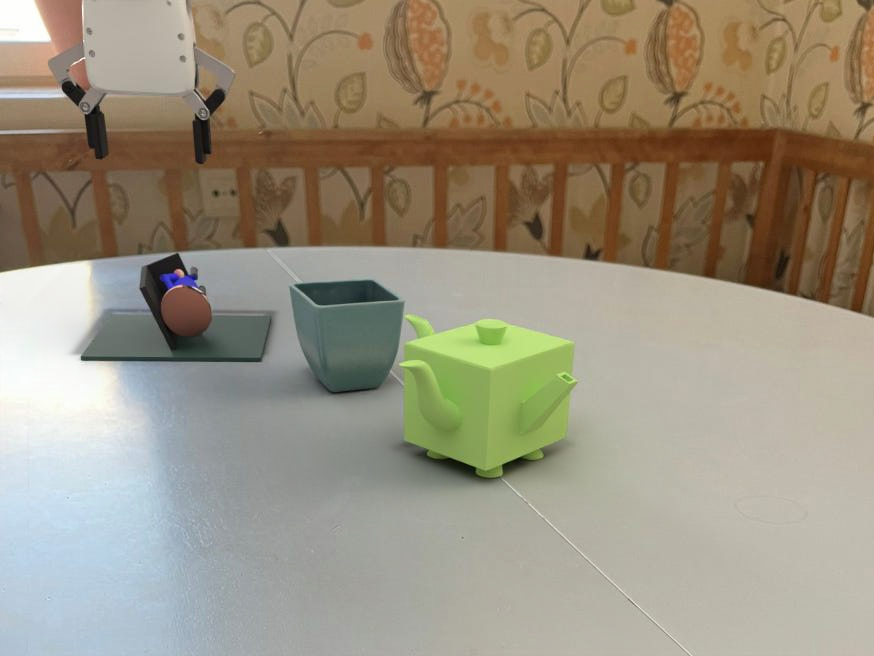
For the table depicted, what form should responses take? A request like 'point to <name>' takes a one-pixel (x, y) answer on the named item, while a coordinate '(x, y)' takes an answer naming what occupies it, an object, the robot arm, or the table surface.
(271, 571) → the table surface
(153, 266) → the character figurine
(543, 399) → the kettle
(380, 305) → the flower pot
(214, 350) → the placemat
